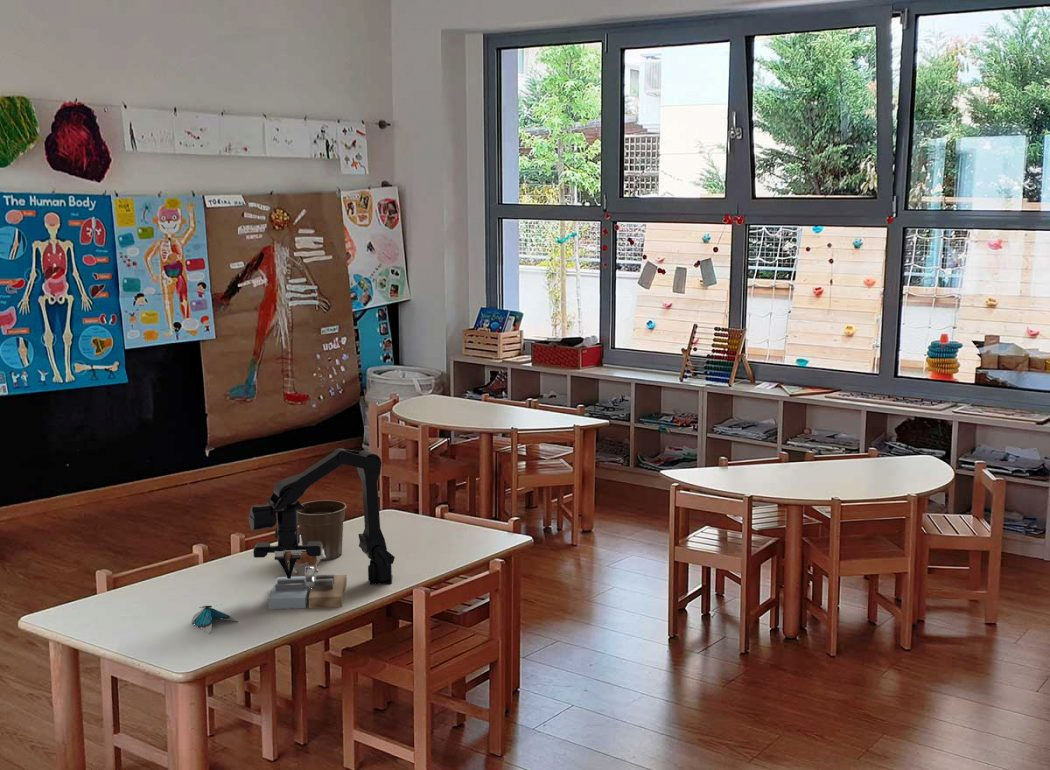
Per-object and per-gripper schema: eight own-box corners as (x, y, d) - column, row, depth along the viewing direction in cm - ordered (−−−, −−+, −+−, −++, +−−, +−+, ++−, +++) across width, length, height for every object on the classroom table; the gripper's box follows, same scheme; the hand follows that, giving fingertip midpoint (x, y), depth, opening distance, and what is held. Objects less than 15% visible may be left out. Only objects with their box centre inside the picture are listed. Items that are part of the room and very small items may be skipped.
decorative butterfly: (210, 600, 297) (234, 599, 292) (215, 623, 297) (239, 622, 292) (180, 612, 289) (204, 610, 283) (185, 635, 289) (209, 634, 283)
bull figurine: (325, 576, 327) (324, 550, 326) (283, 573, 330) (282, 547, 329) (330, 571, 331) (329, 546, 330) (289, 568, 334) (288, 543, 333)
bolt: (333, 583, 311) (332, 564, 310) (332, 586, 309) (332, 567, 308) (305, 584, 311) (304, 565, 310) (304, 587, 308) (303, 568, 308)
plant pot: (311, 567, 335) (309, 517, 333) (287, 554, 348) (285, 506, 345) (357, 556, 345) (355, 507, 343) (332, 544, 358) (330, 497, 355)
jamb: (346, 584, 320) (346, 567, 319) (341, 606, 302) (341, 588, 301) (316, 585, 319) (315, 568, 318) (309, 607, 301) (308, 589, 301)
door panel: (312, 585, 319) (311, 570, 318) (305, 608, 301) (304, 592, 301) (278, 586, 318) (277, 571, 318) (268, 609, 301) (268, 593, 300)
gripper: (323, 516, 315) (325, 568, 317) (258, 518, 313) (260, 569, 316) (319, 527, 304) (321, 581, 307) (252, 529, 302) (254, 582, 305)
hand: (289, 578), depth 309 cm, fingers closed
